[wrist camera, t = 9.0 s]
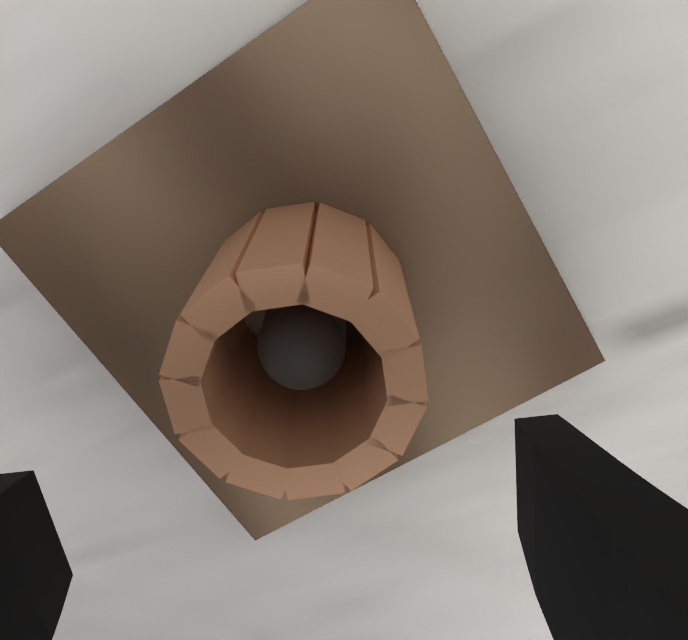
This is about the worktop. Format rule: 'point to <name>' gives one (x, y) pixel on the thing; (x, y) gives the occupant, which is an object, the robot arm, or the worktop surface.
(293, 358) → the holder
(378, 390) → the tube
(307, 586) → the worktop surface
